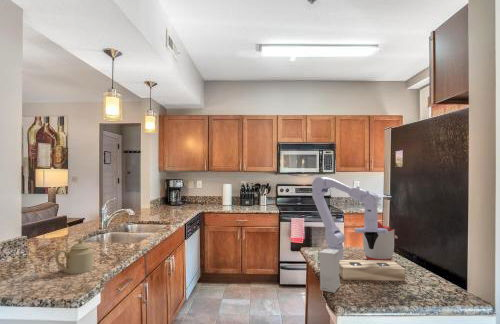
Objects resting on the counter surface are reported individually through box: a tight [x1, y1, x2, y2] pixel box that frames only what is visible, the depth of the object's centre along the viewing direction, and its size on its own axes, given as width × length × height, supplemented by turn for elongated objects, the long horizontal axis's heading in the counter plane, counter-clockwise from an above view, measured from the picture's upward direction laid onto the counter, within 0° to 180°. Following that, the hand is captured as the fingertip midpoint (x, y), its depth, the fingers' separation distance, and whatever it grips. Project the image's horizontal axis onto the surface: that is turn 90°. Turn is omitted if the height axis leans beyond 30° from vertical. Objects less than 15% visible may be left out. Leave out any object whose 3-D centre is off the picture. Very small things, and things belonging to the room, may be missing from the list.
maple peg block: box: [339, 259, 406, 282], centre depth 140 cm, size 12×26×5 cm, turn 89°
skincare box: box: [319, 248, 341, 294], centre depth 125 cm, size 8×6×15 cm
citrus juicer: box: [361, 221, 399, 261], centre depth 164 cm, size 16×17×20 cm
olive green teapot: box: [54, 237, 94, 275], centre depth 144 cm, size 15×11×15 cm
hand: (371, 248), depth 147 cm, fingers closed
